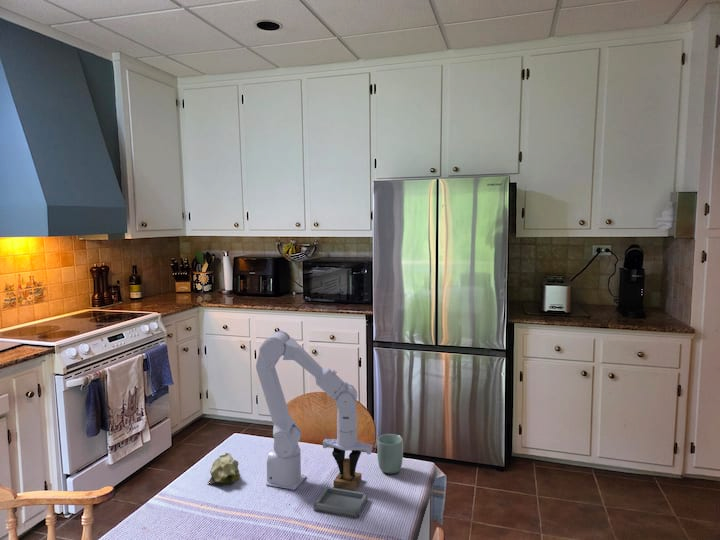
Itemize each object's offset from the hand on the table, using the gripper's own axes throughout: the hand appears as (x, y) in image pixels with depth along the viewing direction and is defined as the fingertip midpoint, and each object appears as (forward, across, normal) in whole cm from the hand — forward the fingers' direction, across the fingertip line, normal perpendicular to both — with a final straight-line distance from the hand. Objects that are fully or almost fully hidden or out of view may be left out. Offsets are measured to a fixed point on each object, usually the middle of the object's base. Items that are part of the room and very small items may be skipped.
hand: (347, 473), depth 140 cm
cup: (+3, -10, -11) cm, 15 cm away
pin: (+3, 0, 0) cm, 3 cm away
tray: (+3, -2, +11) cm, 12 cm away
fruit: (+3, +36, +8) cm, 37 cm away
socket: (+3, 0, 0) cm, 3 cm away
